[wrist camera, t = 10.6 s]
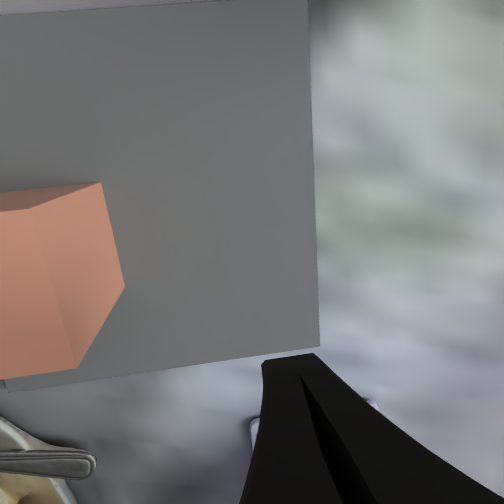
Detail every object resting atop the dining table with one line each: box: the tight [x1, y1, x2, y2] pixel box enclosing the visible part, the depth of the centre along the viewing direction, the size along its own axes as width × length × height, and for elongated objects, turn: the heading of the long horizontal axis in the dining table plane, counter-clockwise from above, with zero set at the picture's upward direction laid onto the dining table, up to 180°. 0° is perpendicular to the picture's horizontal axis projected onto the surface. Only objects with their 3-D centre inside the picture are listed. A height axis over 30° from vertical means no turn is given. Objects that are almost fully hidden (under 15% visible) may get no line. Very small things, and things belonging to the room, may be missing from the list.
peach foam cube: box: [0, 182, 125, 380], centre depth 13 cm, size 5×5×7 cm
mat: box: [0, 0, 320, 393], centre depth 17 cm, size 17×17×1 cm
